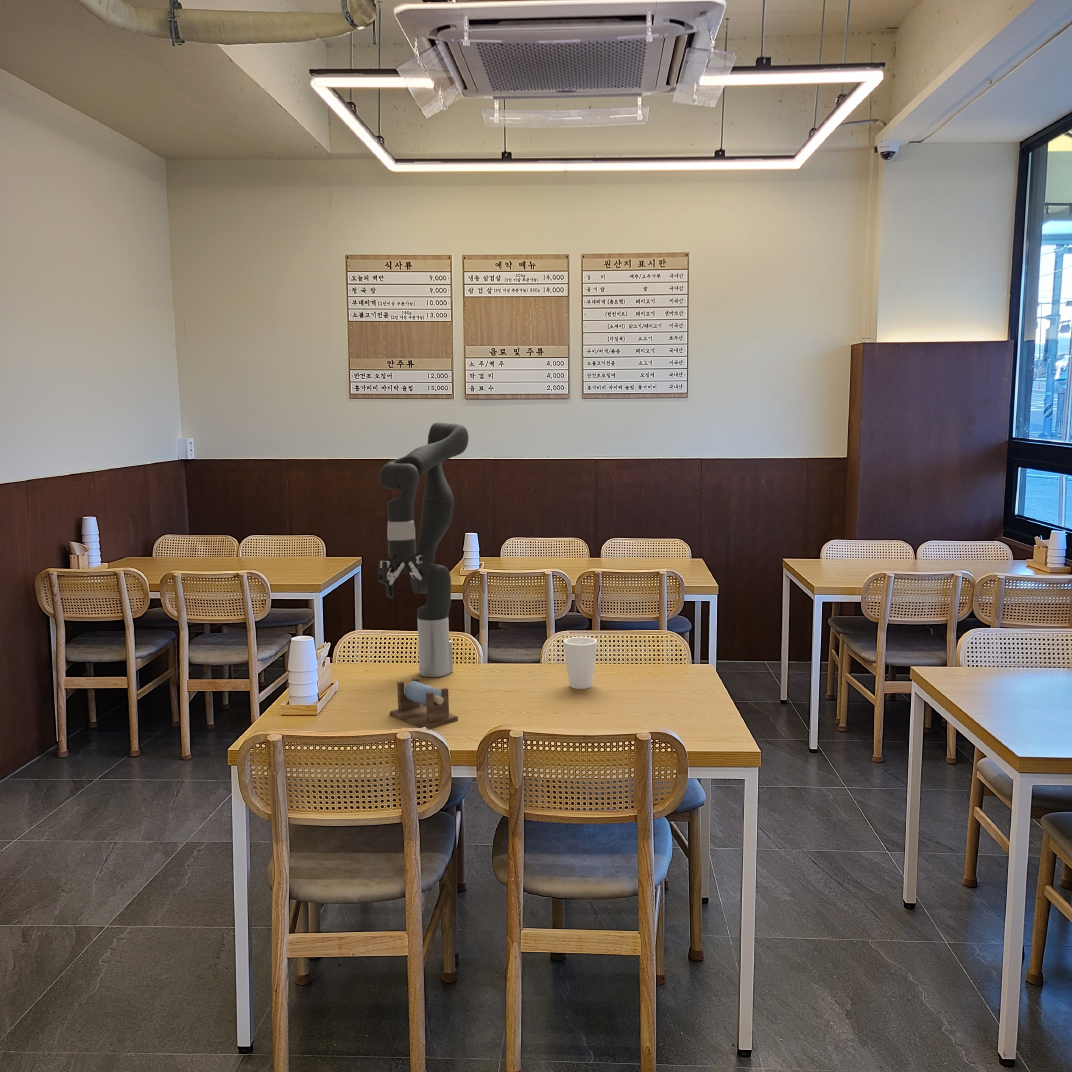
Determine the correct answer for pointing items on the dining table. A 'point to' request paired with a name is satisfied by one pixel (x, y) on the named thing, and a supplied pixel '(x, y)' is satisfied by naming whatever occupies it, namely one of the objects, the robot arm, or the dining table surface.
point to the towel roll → (422, 693)
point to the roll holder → (423, 709)
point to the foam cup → (580, 661)
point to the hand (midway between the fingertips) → (403, 595)
